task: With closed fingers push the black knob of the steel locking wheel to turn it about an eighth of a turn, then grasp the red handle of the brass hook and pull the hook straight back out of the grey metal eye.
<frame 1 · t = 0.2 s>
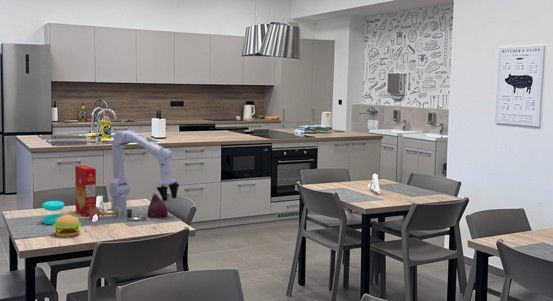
hand: (169, 199, 298), 11 cm above the table, tool pointing down, fingers open, 7 cm apart
board: (110, 221, 292), on the table
food packaging: (85, 216, 304), on the table
hamburger: (67, 235, 265), on the table
vegetable: (157, 218, 303), on the table
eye: (118, 217, 298), resting on board
cyan stacked discs: (53, 223, 287), on the table
handwheel: (136, 214, 294), point 4 cm above the table, hinge at 0.0°
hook: (107, 212, 295), point 4 cm above the table, slide at 0.0 cm
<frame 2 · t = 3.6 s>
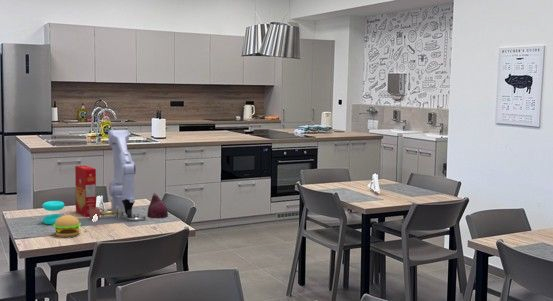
hand: (128, 214, 294), 3 cm above the table, tool pointing down, fingers closed, pressing on handwheel
handwheel: (136, 214, 294), point 4 cm above the table, hinge at 0.0°, touching gripper
everything else where it was.
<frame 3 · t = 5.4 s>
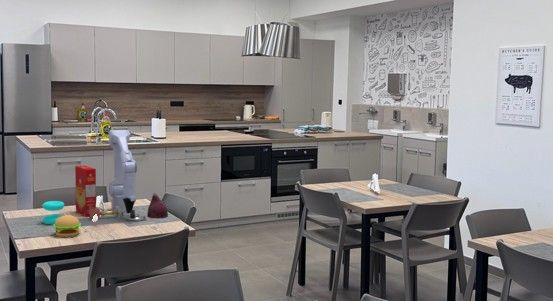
hand: (129, 213, 293), 4 cm above the table, tool pointing down, fingers closed
handwheel: (136, 214, 294), point 4 cm above the table, hinge at 43.6°
everything else where it was.
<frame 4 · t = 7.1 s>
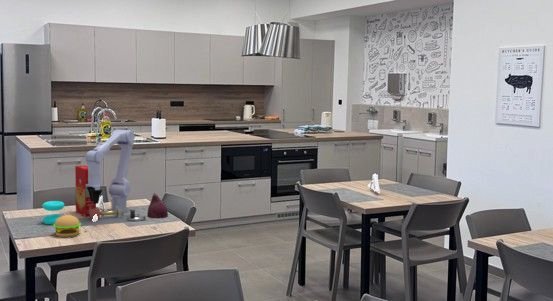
hand: (94, 202, 291), 9 cm above the table, tool pointing down, fingers open, 6 cm apart
nothing on the table moved.
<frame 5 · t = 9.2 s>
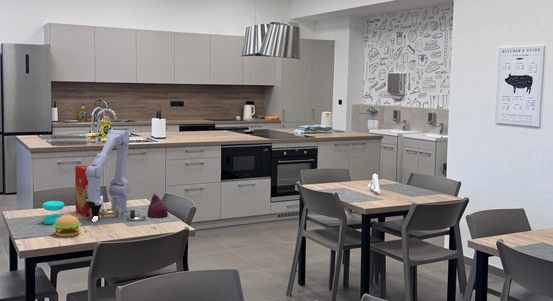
hand: (94, 217, 292), 2 cm above the table, tool pointing down, fingers closed on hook, 4 cm apart
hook: (107, 212, 295), point 4 cm above the table, slide at 0.0 cm, touching gripper
everything else where it was.
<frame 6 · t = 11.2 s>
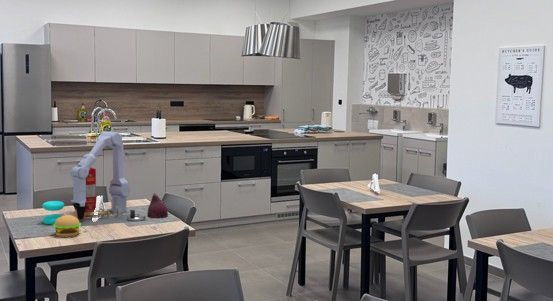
hand: (79, 218, 289), 2 cm above the table, tool pointing down, fingers closed on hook, 4 cm apart
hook: (92, 213, 291), point 4 cm above the table, slide at 6.9 cm, touching gripper
everything else where it was.
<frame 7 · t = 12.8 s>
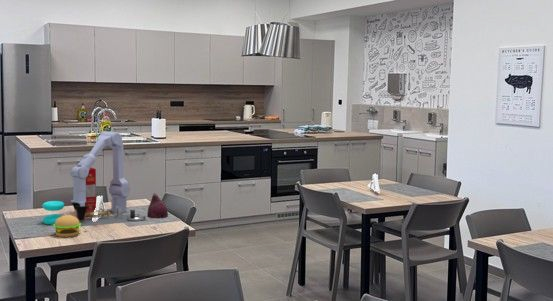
hand: (79, 218, 289), 2 cm above the table, tool pointing down, fingers open, 7 cm apart
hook: (92, 213, 291), point 4 cm above the table, slide at 6.9 cm
everything else where it was.
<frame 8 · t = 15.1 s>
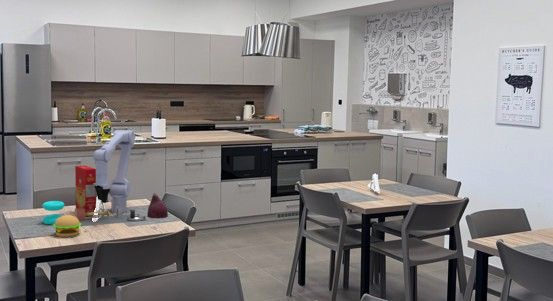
hand: (102, 201, 292), 10 cm above the table, tool pointing down, fingers open, 7 cm apart
nothing on the table moved.
at the end: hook slide at 6.9 cm; handwheel at +44° (first picture: +0°); the gripper is holding nothing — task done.
